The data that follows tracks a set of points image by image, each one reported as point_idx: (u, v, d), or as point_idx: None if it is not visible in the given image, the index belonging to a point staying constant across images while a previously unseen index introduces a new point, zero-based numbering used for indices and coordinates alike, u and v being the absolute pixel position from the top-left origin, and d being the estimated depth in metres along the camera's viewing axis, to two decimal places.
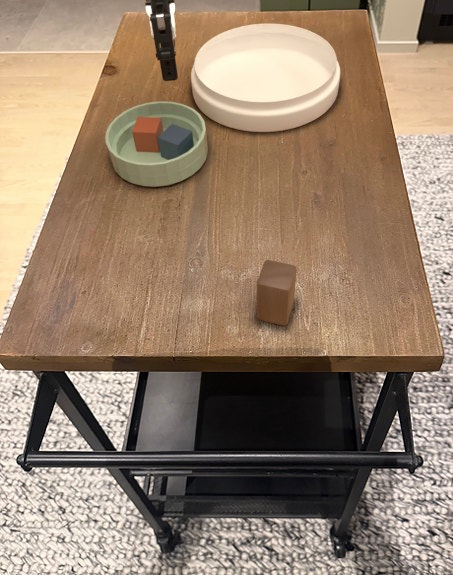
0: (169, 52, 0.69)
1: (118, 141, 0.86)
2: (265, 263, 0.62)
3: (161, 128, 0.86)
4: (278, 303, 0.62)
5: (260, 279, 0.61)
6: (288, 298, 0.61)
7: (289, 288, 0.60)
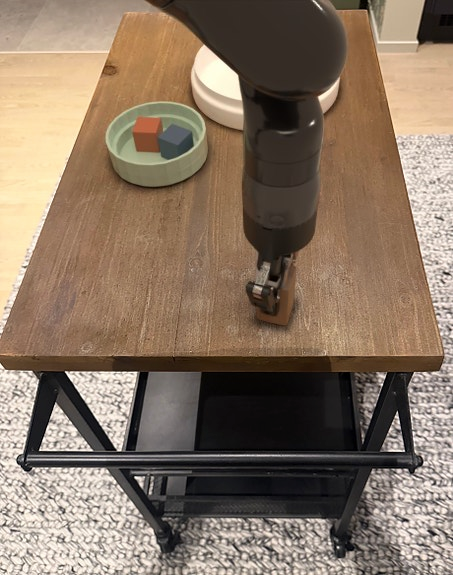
0: (266, 306, 0.58)
1: (118, 141, 0.86)
2: None
3: (161, 128, 0.86)
4: None
5: None
6: (288, 298, 0.61)
7: (289, 288, 0.60)
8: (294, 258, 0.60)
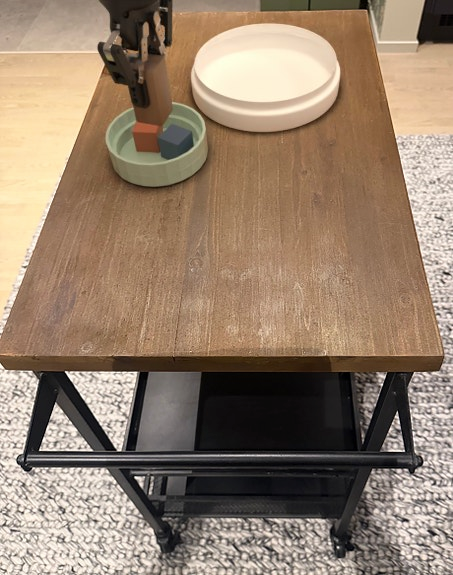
0: (126, 80, 0.61)
1: (118, 141, 0.86)
2: None
3: (161, 128, 0.86)
4: (148, 93, 0.65)
5: None
6: (155, 84, 0.64)
7: (153, 71, 0.63)
8: (159, 43, 0.63)
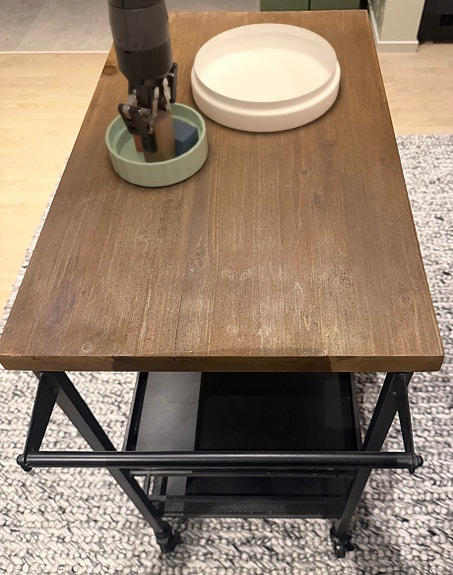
0: (139, 132, 0.74)
1: (118, 141, 0.86)
2: (148, 109, 0.79)
3: None
4: None
5: None
6: (161, 135, 0.78)
7: (161, 125, 0.77)
8: (166, 102, 0.77)
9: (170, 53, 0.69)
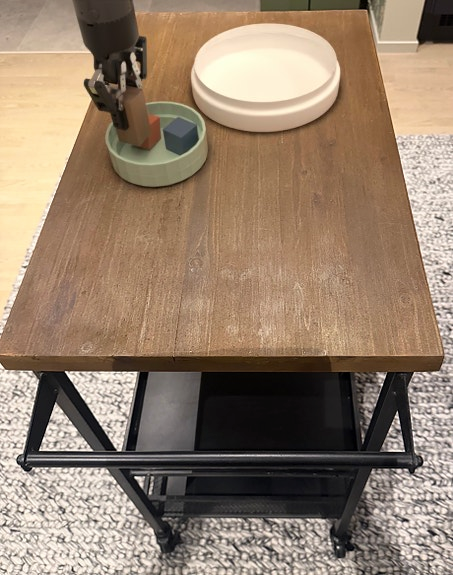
0: (108, 108, 0.73)
1: (118, 141, 0.86)
2: None
3: (158, 127, 0.86)
4: (127, 118, 0.78)
5: None
6: (132, 112, 0.77)
7: (131, 102, 0.75)
8: (135, 77, 0.76)
9: (135, 25, 0.68)
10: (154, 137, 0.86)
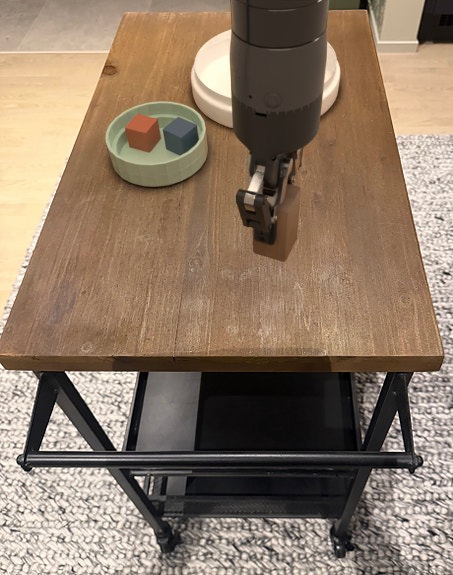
0: (260, 225, 0.48)
1: (118, 141, 0.86)
2: None
3: (156, 129, 0.86)
4: None
5: None
6: (287, 223, 0.52)
7: (289, 210, 0.51)
8: (294, 173, 0.51)
9: None
10: (154, 140, 0.86)
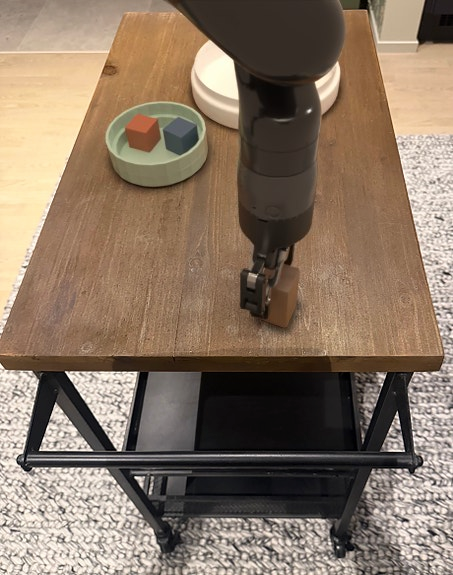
0: (256, 307, 0.55)
1: (118, 141, 0.86)
2: None
3: (156, 129, 0.86)
4: (278, 304, 0.62)
5: None
6: (288, 300, 0.61)
7: (289, 290, 0.60)
8: None
9: None
10: (154, 140, 0.86)
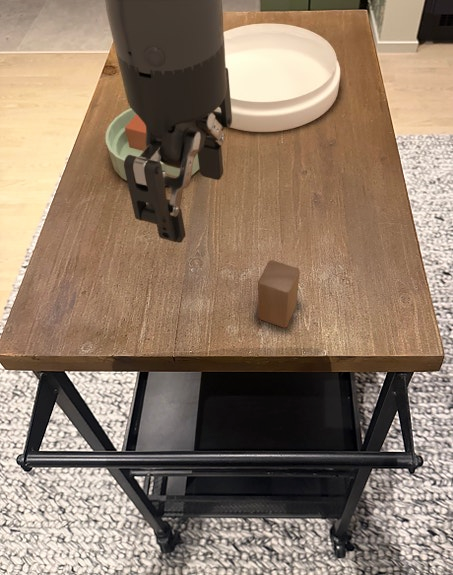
0: (155, 216, 0.40)
1: (118, 141, 0.86)
2: (269, 263, 0.62)
3: None
4: (278, 304, 0.62)
5: (261, 279, 0.61)
6: (288, 300, 0.61)
7: (289, 290, 0.60)
8: (216, 138, 0.45)
9: (224, 71, 0.37)
10: None
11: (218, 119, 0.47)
